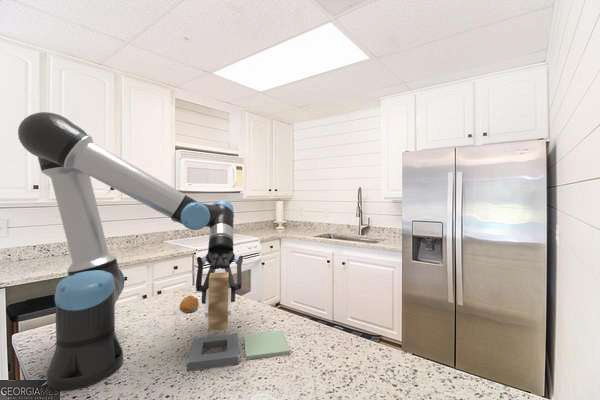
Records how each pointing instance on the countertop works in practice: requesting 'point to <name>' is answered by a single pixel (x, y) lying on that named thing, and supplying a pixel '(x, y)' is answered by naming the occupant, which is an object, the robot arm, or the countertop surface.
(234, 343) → the pocket frame
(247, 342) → the rubber pad
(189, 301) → the pastry
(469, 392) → the countertop surface
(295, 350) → the countertop surface
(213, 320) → the oak peg
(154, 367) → the countertop surface
